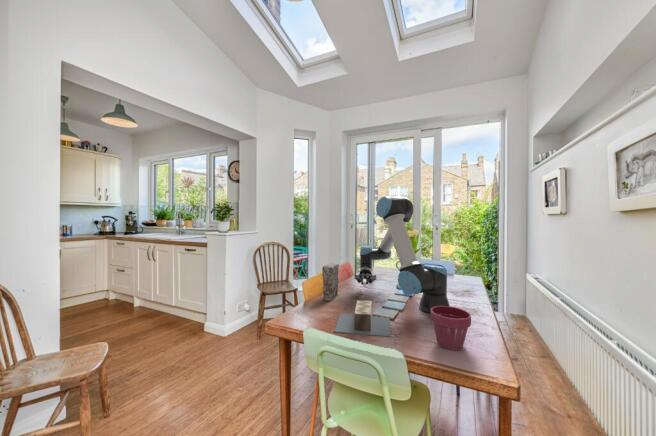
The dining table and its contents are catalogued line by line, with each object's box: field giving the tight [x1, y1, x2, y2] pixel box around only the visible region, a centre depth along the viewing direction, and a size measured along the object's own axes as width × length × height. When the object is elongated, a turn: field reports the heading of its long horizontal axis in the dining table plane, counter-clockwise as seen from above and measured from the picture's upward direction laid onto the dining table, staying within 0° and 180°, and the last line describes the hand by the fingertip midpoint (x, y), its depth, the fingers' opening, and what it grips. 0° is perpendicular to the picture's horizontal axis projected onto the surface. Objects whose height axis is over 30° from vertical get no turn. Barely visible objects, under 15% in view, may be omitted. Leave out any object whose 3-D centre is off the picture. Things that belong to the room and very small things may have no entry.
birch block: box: [353, 299, 373, 331], centre depth 123 cm, size 7×7×18 cm
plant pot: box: [430, 306, 472, 351], centre depth 103 cm, size 14×14×13 cm
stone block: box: [321, 262, 340, 302], centre depth 159 cm, size 13×7×20 cm, turn 164°
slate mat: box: [333, 313, 393, 338], centre depth 121 cm, size 24×20×1 cm
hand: (364, 284), depth 140 cm, fingers closed
